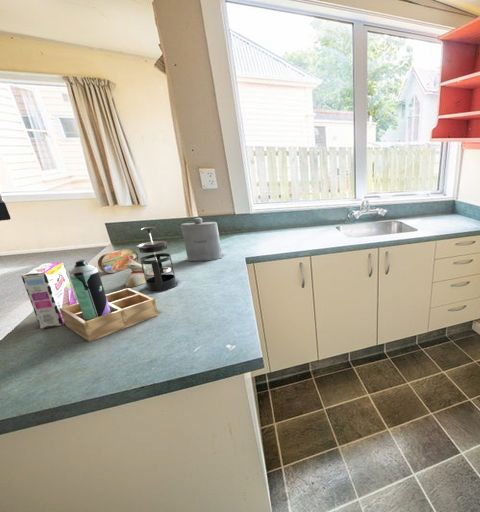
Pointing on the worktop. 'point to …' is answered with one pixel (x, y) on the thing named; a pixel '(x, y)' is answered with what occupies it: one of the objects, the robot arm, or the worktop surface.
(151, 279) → the french press
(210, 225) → the flask
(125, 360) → the worktop surface
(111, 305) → the tray
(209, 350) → the worktop surface
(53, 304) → the candy bar box
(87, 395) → the worktop surface
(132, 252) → the tin
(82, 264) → the spray can
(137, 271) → the chocolate bunny
